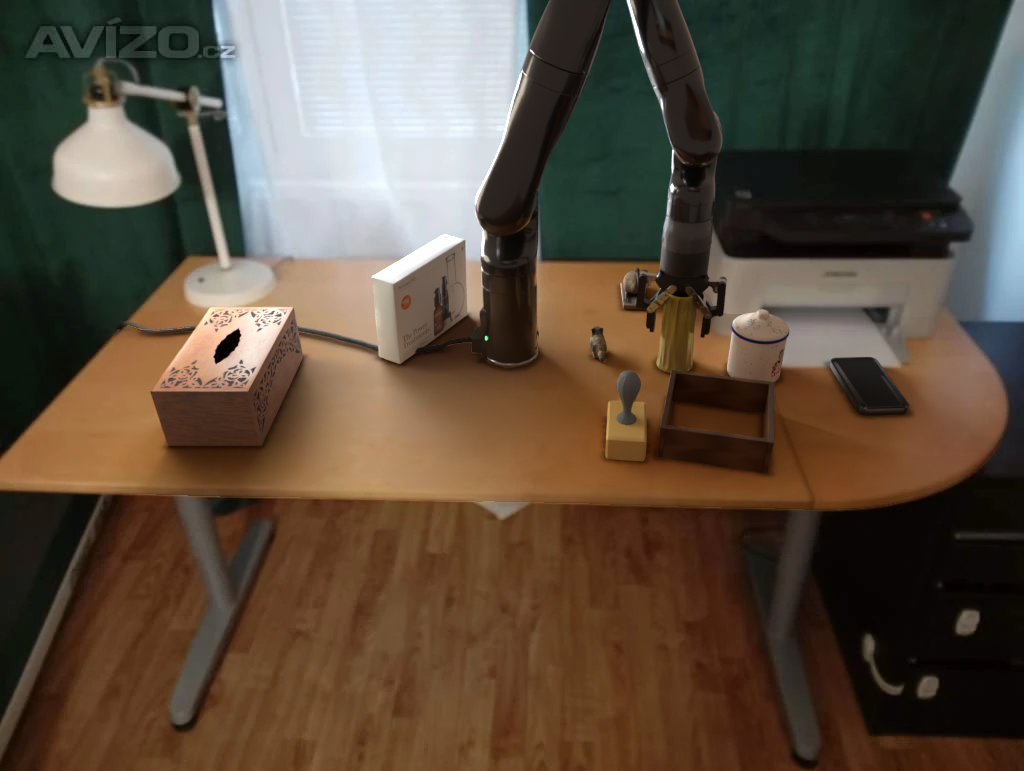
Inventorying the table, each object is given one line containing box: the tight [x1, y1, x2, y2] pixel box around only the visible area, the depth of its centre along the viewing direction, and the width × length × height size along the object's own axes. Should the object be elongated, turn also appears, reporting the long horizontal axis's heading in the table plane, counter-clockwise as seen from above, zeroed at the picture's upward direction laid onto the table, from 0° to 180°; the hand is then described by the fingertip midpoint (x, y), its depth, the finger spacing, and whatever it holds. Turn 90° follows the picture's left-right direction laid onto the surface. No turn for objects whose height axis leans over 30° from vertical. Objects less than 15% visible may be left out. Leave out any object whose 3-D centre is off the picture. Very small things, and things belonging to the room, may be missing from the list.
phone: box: [829, 356, 910, 416], centre depth 132 cm, size 8×1×15 cm
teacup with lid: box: [726, 308, 790, 383], centre depth 135 cm, size 12×9×12 cm
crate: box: [656, 370, 776, 474], centre depth 122 cm, size 16×16×6 cm
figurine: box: [620, 267, 644, 310], centre depth 157 cm, size 14×4×9 cm, turn 177°
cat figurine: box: [589, 325, 608, 363], centre depth 142 cm, size 3×8×4 cm, turn 4°
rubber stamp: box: [604, 370, 648, 462], centre depth 120 cm, size 10×6×12 cm, turn 173°
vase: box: [655, 294, 698, 374], centre depth 136 cm, size 6×6×14 cm
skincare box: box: [370, 233, 468, 365], centre depth 146 cm, size 21×5×16 cm, turn 148°
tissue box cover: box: [149, 306, 304, 447], centre depth 132 cm, size 26×14×10 cm, turn 178°
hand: (677, 332), depth 136 cm, fingers open, 8 cm apart
